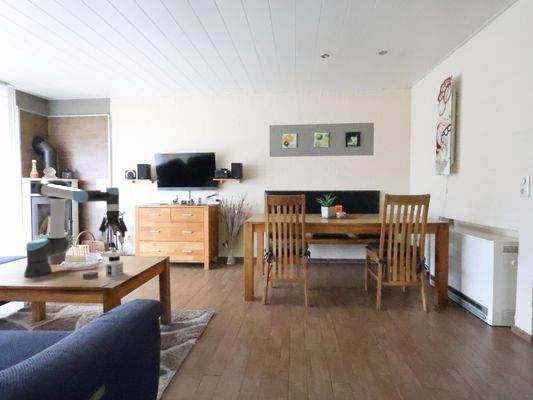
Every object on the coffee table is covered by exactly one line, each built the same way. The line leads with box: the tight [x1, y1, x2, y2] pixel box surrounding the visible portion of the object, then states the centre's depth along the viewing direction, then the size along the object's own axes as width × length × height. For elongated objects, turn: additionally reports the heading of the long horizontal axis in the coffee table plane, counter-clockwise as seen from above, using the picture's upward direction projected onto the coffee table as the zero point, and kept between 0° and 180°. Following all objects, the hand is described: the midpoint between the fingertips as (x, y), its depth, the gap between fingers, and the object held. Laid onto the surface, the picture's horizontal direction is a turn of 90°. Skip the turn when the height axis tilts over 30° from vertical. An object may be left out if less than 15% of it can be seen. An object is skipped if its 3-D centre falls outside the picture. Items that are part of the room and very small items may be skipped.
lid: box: [100, 248, 128, 258], centre depth 204 cm, size 11×11×4 cm
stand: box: [82, 271, 99, 280], centre depth 197 cm, size 6×6×3 cm
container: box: [105, 256, 124, 277], centre depth 205 cm, size 8×8×13 cm
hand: (113, 241), depth 204 cm, fingers open, 13 cm apart
